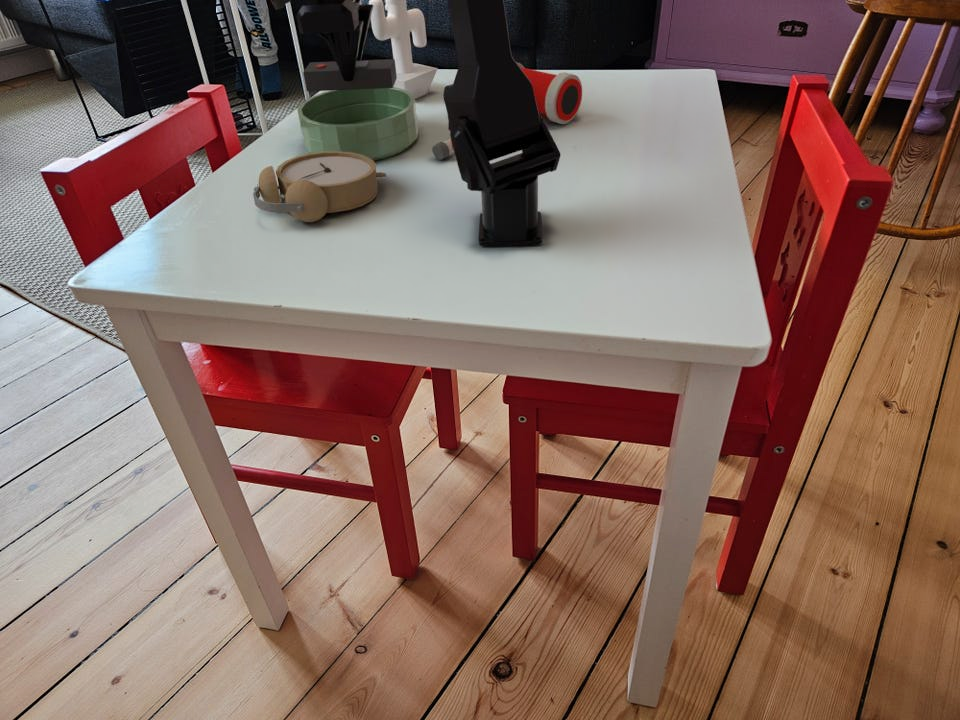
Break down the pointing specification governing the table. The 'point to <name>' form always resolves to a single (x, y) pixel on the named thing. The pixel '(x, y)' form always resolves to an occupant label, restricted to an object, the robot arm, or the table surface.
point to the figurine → (403, 43)
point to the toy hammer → (542, 100)
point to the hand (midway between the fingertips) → (351, 75)
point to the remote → (365, 77)
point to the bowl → (359, 121)
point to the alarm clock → (318, 184)
